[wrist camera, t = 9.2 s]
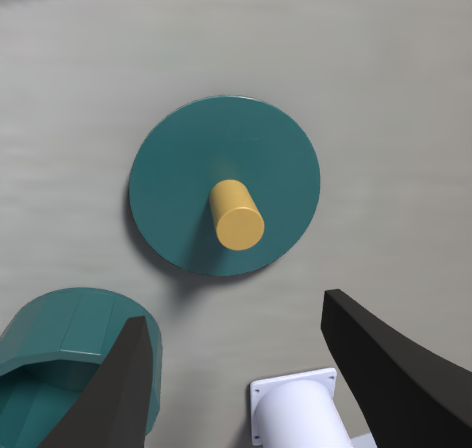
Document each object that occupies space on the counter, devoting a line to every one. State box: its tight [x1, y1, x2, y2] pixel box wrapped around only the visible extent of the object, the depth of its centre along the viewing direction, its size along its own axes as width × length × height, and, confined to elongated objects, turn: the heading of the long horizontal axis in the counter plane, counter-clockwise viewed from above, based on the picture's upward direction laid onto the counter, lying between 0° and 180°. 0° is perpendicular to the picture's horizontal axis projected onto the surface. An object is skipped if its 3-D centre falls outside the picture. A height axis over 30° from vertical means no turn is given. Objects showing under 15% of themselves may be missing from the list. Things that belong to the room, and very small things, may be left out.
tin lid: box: [129, 95, 320, 276], centre depth 18 cm, size 11×11×5 cm
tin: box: [0, 288, 162, 448], centre depth 22 cm, size 11×11×5 cm
